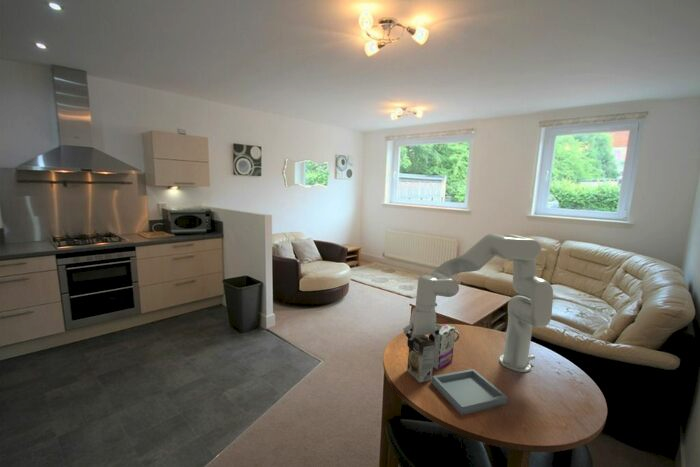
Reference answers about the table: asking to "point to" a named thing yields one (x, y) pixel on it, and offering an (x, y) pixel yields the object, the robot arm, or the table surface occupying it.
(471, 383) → the tray
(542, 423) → the table surface
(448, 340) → the candy bar box
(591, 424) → the table surface
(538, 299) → the robot arm
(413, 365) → the coffee box
